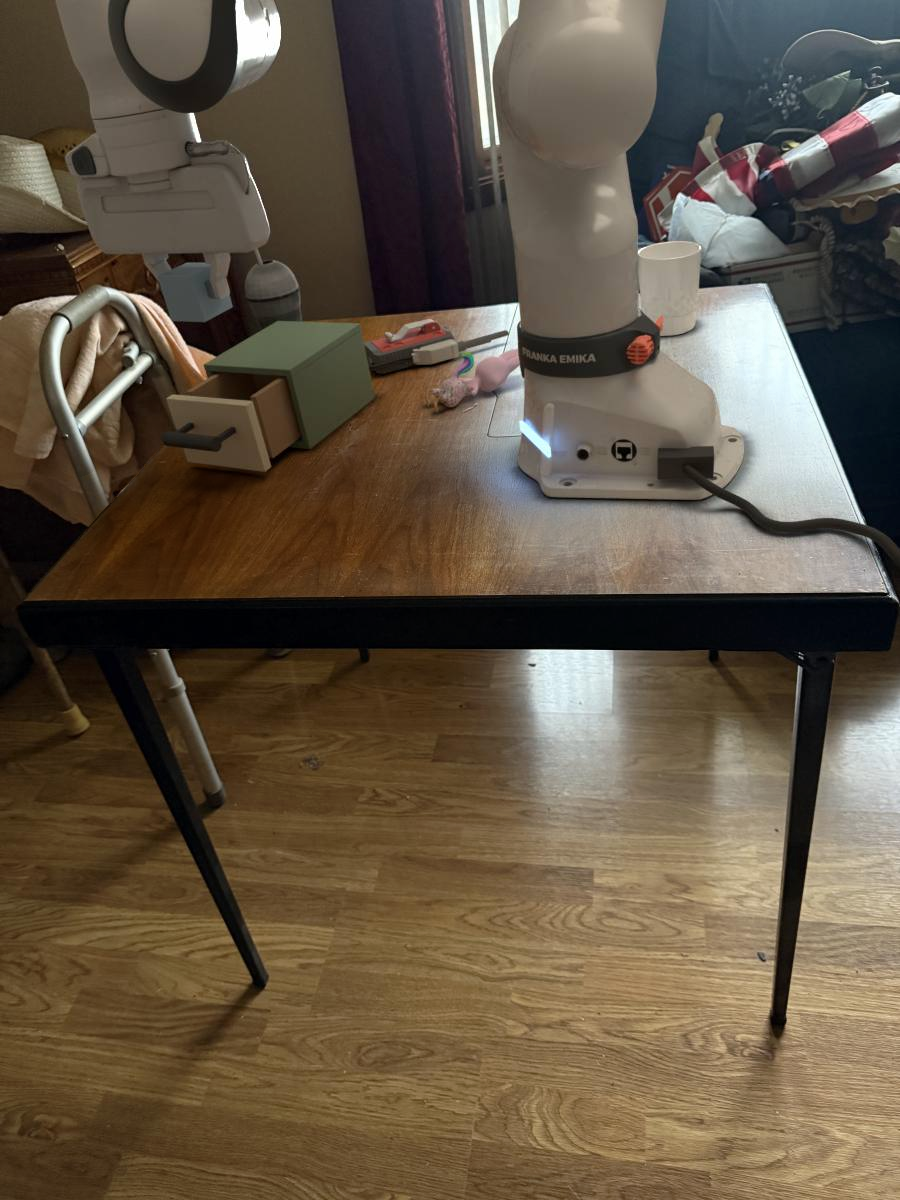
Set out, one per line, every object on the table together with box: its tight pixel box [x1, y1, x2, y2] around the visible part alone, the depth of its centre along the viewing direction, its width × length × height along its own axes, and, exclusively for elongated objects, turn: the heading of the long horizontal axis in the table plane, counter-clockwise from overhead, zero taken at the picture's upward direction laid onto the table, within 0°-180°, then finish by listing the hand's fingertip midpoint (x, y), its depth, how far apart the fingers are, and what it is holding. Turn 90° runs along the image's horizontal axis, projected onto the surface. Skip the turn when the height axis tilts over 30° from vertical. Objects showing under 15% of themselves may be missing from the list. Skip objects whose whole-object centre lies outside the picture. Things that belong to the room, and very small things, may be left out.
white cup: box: [638, 240, 703, 337], centre depth 114 cm, size 8×8×10 cm
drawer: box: [161, 372, 302, 473], centre depth 99 cm, size 18×11×8 cm, turn 153°
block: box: [157, 262, 234, 323], centre depth 88 cm, size 4×4×4 cm
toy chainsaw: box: [364, 318, 510, 375], centre depth 120 cm, size 9×4×20 cm
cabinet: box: [203, 321, 376, 450], centre depth 106 cm, size 15×13×10 cm
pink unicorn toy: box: [423, 348, 520, 413], centre depth 106 cm, size 6×6×15 cm
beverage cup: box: [244, 248, 303, 332], centre depth 116 cm, size 7×7×20 cm
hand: (197, 297), depth 88 cm, fingers closed on block, 4 cm apart
